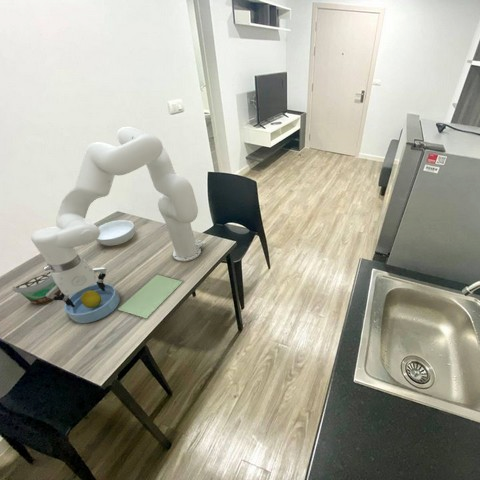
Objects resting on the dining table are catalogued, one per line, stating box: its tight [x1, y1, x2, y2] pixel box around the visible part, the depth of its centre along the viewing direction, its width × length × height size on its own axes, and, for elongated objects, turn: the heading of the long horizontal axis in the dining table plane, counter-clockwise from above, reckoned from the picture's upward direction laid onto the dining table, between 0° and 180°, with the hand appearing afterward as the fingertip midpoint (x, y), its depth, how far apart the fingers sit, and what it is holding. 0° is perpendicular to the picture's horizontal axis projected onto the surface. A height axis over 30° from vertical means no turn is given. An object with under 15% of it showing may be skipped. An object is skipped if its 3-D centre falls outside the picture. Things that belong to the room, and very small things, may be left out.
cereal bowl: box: [95, 219, 136, 247], centre depth 130 cm, size 17×17×7 cm
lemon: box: [81, 291, 102, 308], centre depth 98 cm, size 6×6×8 cm
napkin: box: [117, 274, 183, 319], centre depth 106 cm, size 20×13×1 cm, turn 165°
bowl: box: [63, 282, 121, 324], centre depth 99 cm, size 15×15×5 cm
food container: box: [12, 271, 61, 306], centre depth 99 cm, size 12×6×10 cm, turn 148°
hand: (87, 297), depth 96 cm, fingers open, 9 cm apart
